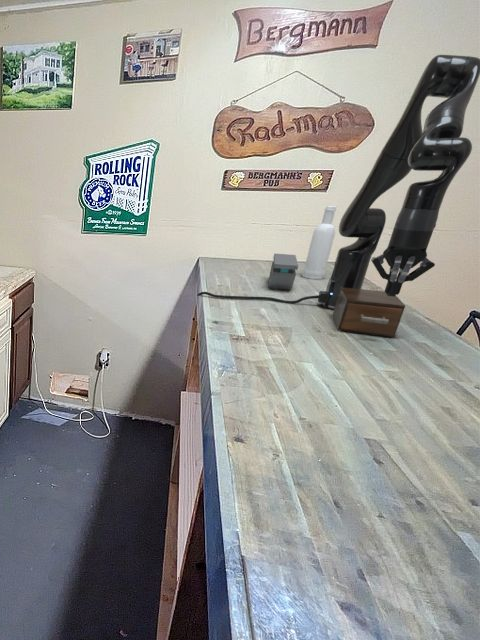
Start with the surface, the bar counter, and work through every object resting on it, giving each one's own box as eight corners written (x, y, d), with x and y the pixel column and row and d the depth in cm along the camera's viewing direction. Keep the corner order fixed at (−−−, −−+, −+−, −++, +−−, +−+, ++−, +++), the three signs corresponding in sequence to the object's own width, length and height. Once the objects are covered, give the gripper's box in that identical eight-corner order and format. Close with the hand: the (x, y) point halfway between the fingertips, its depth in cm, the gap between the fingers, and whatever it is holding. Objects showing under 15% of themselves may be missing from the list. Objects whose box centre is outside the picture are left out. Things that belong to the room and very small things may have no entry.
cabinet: (394, 337, 133) (405, 305, 129) (337, 330, 139) (347, 299, 135) (383, 321, 146) (393, 292, 142) (332, 315, 152) (340, 287, 148)
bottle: (320, 275, 205) (339, 205, 193) (325, 279, 198) (345, 207, 186) (299, 274, 207) (317, 205, 195) (304, 278, 200) (322, 206, 188)
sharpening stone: (291, 293, 177) (298, 265, 173) (268, 291, 181) (274, 263, 176) (289, 280, 197) (295, 255, 193) (268, 278, 201) (274, 253, 197)
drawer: (396, 340, 128) (406, 314, 125) (343, 333, 133) (351, 307, 130) (383, 320, 144) (391, 296, 141) (335, 315, 150) (342, 291, 146)
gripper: (444, 227, 113) (419, 295, 120) (377, 224, 119) (357, 289, 125) (453, 230, 107) (426, 302, 114) (383, 227, 113) (361, 296, 119)
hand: (390, 295), depth 119 cm, fingers closed
